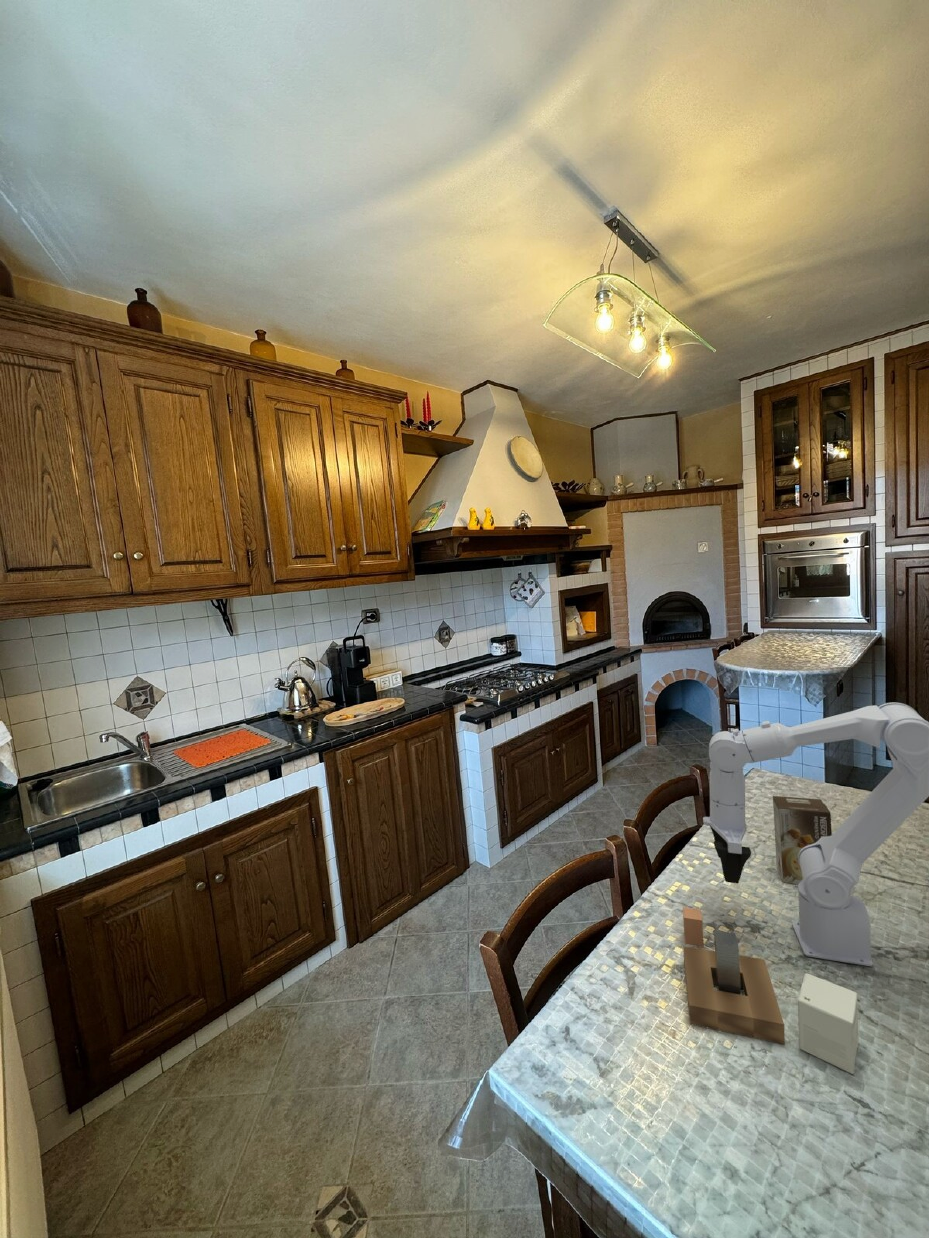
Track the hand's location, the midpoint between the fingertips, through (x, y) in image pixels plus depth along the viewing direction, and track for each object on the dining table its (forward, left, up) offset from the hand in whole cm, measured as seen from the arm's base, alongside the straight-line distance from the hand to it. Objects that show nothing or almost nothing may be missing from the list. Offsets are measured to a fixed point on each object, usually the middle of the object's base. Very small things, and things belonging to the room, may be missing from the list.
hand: (727, 868), depth 91 cm
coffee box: (-16, -18, -11) cm, 26 cm away
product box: (-9, +23, -11) cm, 27 cm away
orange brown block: (+7, +6, -11) cm, 14 cm away
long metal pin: (+3, +18, -11) cm, 21 cm away
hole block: (+3, +18, -10) cm, 21 cm away
